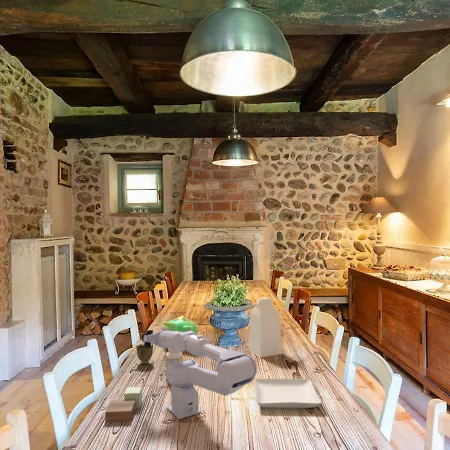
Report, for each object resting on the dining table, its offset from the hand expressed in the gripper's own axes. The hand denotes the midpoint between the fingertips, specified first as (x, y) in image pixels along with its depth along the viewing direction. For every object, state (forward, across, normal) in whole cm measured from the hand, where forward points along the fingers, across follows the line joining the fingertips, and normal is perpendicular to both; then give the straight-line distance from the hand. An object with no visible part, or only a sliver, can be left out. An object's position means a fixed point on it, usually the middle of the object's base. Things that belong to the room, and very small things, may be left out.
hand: (151, 337), depth 142 cm
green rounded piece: (+42, -40, +5) cm, 58 cm away
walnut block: (-7, +12, +24) cm, 28 cm away
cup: (+31, -15, +12) cm, 36 cm away
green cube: (-3, +6, +22) cm, 23 cm away
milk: (+6, -66, +6) cm, 67 cm away
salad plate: (-33, -37, +19) cm, 53 cm away
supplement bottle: (+8, -16, +16) cm, 24 cm away
